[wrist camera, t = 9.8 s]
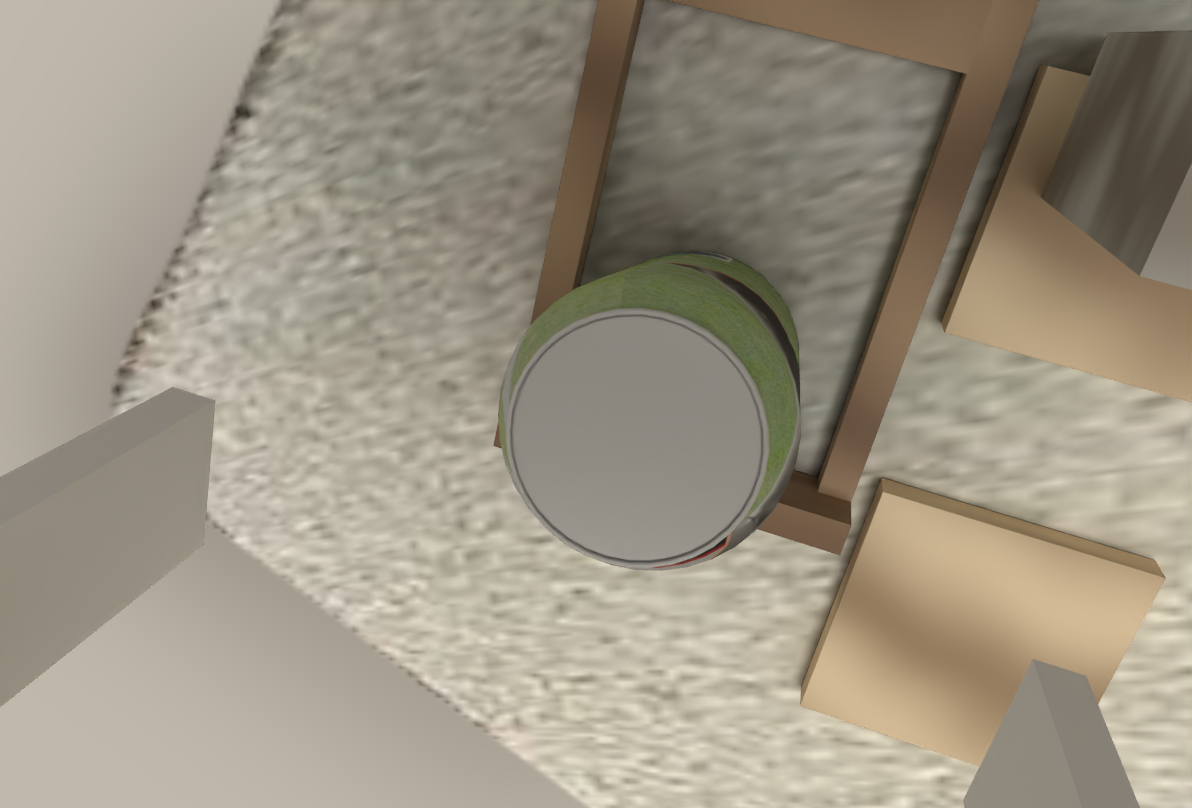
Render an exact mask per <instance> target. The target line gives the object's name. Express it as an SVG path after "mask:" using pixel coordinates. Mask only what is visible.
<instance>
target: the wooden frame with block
mask: <svg viewBox="0 0 1192 808" xmlns="http://www.w3.org/2000/svg"><path fill="white" fill-rule="evenodd" d="M668 1H672V2H676V3H680V4H684V5H689V6H693V7H697V8H701V9H705V10H709V11H713V12H717V13H721V14H725V15H729V16H733V17H737V18H741V19H746V20H750V21H754V22H758V23H762V24H766V25H770V26H774V27H778V28H782V29H786V30H790V31H794V32H798V33H802V34H807V35H811V36H815V37H819V38H823V39H827V40H831V41H835V42H839V43H843V44H847V45H851V46H855V47H859V48H863V49H868V50H872V51H876V52H880V53H884V54H888V55H892V56H896V57H900V58H904V59H908V60H912V61H916V62H920V63H924V64H929V65H933V66H937V67H941V68H945V69H949V70H953V71H957V72H961V73H962V75H961V78H960V81H959V84H958V87H957V89H956V92H955V95H954V98H953V101H952V103H951V106H950V109H949V112H948V115H947V117H946V120H945V123H944V126H943V129H942V132H941V134H940V137H939V140H938V143H937V146H936V148H935V151H934V154H933V157H932V160H931V162H930V165H929V168H928V171H927V174H926V177H925V179H924V182H923V185H922V188H921V191H920V193H919V196H918V199H917V202H916V205H915V207H914V210H913V213H912V216H911V219H910V222H909V224H908V227H907V230H906V233H905V236H904V238H903V241H902V244H901V247H900V250H899V252H898V255H897V258H896V261H895V264H894V267H893V269H892V272H891V275H890V278H889V281H888V283H887V286H886V289H885V292H884V295H883V297H882V300H881V303H880V306H879V309H878V312H877V314H876V317H875V320H874V323H873V326H872V328H871V331H870V334H869V337H868V340H867V342H866V345H865V348H864V351H863V354H862V357H861V359H860V362H859V365H858V368H857V371H856V373H855V376H854V379H853V382H852V385H851V387H850V390H849V393H848V396H847V399H846V402H845V404H844V407H843V410H842V413H841V416H840V418H839V421H838V424H837V427H836V430H835V432H834V435H833V438H832V441H831V444H830V447H829V449H828V452H827V455H826V458H825V461H824V463H823V466H822V469H821V472H820V475H819V477H818V478H817V477H813V476H810V475H807V474H804V473H800V472H797V471H794V470H793V472H792V475H791V478H790V480H789V483H788V486H787V488H786V490H785V492H784V493H783V495H782V497H781V498H780V500H779V502H778V503H777V505H776V507H775V508H774V510H773V511H772V512H771V514H770V515H769V516H768V517H767V518H766V519H765V520H764V522H763V523H762V524H761V525H760V526H759V527H758V528H757V529H759V530H762V531H765V532H768V533H771V534H775V535H778V536H781V537H784V538H787V539H790V540H794V541H797V542H800V543H803V544H806V545H809V546H813V547H816V548H819V549H822V550H825V551H828V552H832V553H835V554H838V555H840V554H841V551H842V549H843V546H844V543H845V541H846V538H847V535H848V533H849V530H850V528H851V501H852V498H853V495H854V493H855V490H856V487H857V485H858V482H859V479H860V477H861V474H862V471H863V469H864V466H865V463H866V461H867V458H868V455H869V452H870V450H871V447H872V444H873V442H874V439H875V436H876V434H877V431H878V428H879V426H880V423H881V420H882V418H883V415H884V412H885V410H886V407H887V404H888V402H889V399H890V396H891V394H892V391H893V388H894V386H895V383H896V380H897V378H898V375H899V372H900V370H901V367H902V364H903V362H904V359H905V356H906V354H907V351H908V348H909V346H910V343H911V340H912V338H913V335H914V332H915V330H916V327H917V324H918V322H919V319H920V316H921V314H922V311H923V308H924V306H925V303H926V300H927V298H928V295H929V292H930V290H931V287H932V284H933V282H934V279H935V276H936V274H937V271H938V268H939V266H940V263H941V260H942V258H943V255H944V252H945V250H946V247H947V244H948V242H949V239H950V236H951V234H952V231H953V228H954V226H955V223H956V220H957V218H958V215H959V212H960V210H961V207H962V204H963V202H964V199H965V196H966V194H967V191H968V188H969V186H970V183H971V180H972V178H973V175H974V172H975V170H976V167H977V164H978V162H979V159H980V156H981V154H982V151H983V148H984V146H985V143H986V140H987V138H988V135H989V132H990V130H991V127H992V124H993V122H994V119H995V116H996V114H997V111H998V108H999V105H1000V103H1001V100H1002V97H1003V95H1004V92H1005V89H1006V87H1007V84H1008V81H1009V79H1010V76H1011V73H1012V71H1013V68H1014V65H1015V63H1016V60H1017V57H1018V55H1019V52H1020V49H1021V47H1022V44H1023V41H1024V39H1025V36H1026V33H1027V31H1028V28H1029V25H1030V23H1031V20H1032V17H1033V15H1034V12H1035V9H1036V7H1037V4H1038V1H1039V0H668ZM643 5H644V0H598V5H597V10H596V15H595V20H594V24H593V29H592V34H591V39H590V43H589V48H588V53H587V58H586V63H585V67H584V72H583V77H582V82H581V87H580V91H579V96H578V101H577V106H576V110H575V115H574V120H573V125H572V130H571V134H570V139H569V144H568V149H567V153H566V158H565V163H564V168H563V173H562V177H561V182H560V187H559V192H558V197H557V201H556V206H555V211H554V216H553V220H552V225H551V230H550V235H549V240H548V244H547V249H546V254H545V259H544V264H543V268H542V273H541V278H540V283H539V287H538V292H537V297H536V302H535V307H534V311H533V316H532V321H531V325H532V324H533V322H534V321H535V320H536V319H537V318H538V317H539V316H540V315H541V314H542V313H543V312H545V311H546V310H547V309H548V308H549V307H550V306H551V305H552V304H553V303H554V302H556V301H557V300H559V299H560V298H562V297H563V296H565V295H566V294H568V293H570V292H571V291H573V290H574V289H576V288H578V287H580V283H581V279H582V274H583V270H584V265H585V261H586V256H587V252H588V248H589V243H590V239H591V234H592V230H593V226H594V221H595V217H596V212H597V208H598V203H599V199H600V195H601V190H602V186H603V181H604V177H605V173H606V168H607V164H608V159H609V155H610V150H611V146H612V142H613V137H614V133H615V128H616V124H617V119H618V115H619V111H620V106H621V102H622V97H623V93H624V89H625V84H626V80H627V75H628V71H629V66H630V62H631V58H632V53H633V49H634V44H635V40H636V36H637V31H638V27H639V22H640V18H641V13H642V9H643ZM494 446H496V447H499V448H502V446H501V442H500V432H499V422H498V426H497V431H496V436H495V441H494Z"/></svg>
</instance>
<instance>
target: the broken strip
mask: <svg viewBox="0 0 1192 808" xmlns="http://www.w3.org/2000/svg"><path fill="white" fill-rule="evenodd" d="M942 326H943V329H944V332H945V333H948V334H951V335H955V336H958V337H962V338H966V339H969V340H973V341H976V342H980V343H983V344H987V345H990V346H994V347H998V348H1001V349H1005V350H1008V351H1012V352H1015V353H1019V354H1022V355H1026V356H1030V357H1033V358H1037V359H1040V360H1044V361H1047V362H1051V363H1054V364H1058V365H1062V366H1065V367H1069V368H1072V369H1076V370H1079V371H1083V372H1086V373H1090V374H1094V375H1097V376H1101V377H1104V378H1108V379H1111V380H1115V381H1118V382H1122V383H1126V384H1129V385H1133V386H1136V387H1140V388H1143V389H1147V390H1150V391H1154V392H1158V393H1161V394H1165V395H1168V396H1172V397H1175V398H1179V399H1182V400H1186V401H1190V402H1192V31H1155V32H1116V33H1107V36H1106V38H1105V41H1104V43H1103V46H1102V48H1101V50H1100V53H1099V55H1098V58H1097V60H1096V63H1095V65H1094V68H1093V70H1092V73H1091V75H1090V76H1088V75H1084V74H1080V73H1076V72H1072V71H1067V70H1063V69H1059V68H1055V67H1051V66H1045V65H1040V68H1039V70H1038V73H1037V76H1036V78H1035V81H1034V83H1033V86H1032V89H1031V91H1030V94H1029V96H1028V99H1027V102H1026V104H1025V107H1024V109H1023V112H1022V115H1021V117H1020V120H1019V122H1018V125H1017V128H1016V130H1015V133H1014V135H1013V138H1012V141H1011V143H1010V146H1009V148H1008V151H1007V154H1006V156H1005V159H1004V161H1003V164H1002V167H1001V169H1000V172H999V174H998V177H997V180H996V182H995V185H994V187H993V190H992V193H991V195H990V198H989V200H988V203H987V206H986V208H985V211H984V213H983V216H982V219H981V221H980V224H979V226H978V229H977V232H976V234H975V237H974V239H973V242H972V245H971V247H970V250H969V252H968V255H967V258H966V260H965V263H964V265H963V268H962V271H961V273H960V276H959V278H958V281H957V284H956V286H955V289H954V291H953V294H952V297H951V299H950V302H949V304H948V307H947V310H946V312H945V315H944V317H943V320H942ZM1165 579H1166V578H1165V576H1164V574H1163V573H1162V571H1161V569H1160V568H1159V566H1158V564H1157V563H1156V561H1154V560H1151V559H1148V558H1144V557H1141V556H1138V555H1135V554H1131V553H1128V552H1125V551H1121V550H1118V549H1115V548H1111V547H1108V546H1105V545H1102V544H1098V543H1095V542H1092V541H1088V540H1085V539H1082V538H1079V537H1075V536H1072V535H1069V534H1065V533H1062V532H1059V531H1055V530H1052V529H1049V528H1046V527H1042V526H1039V525H1036V524H1032V523H1029V522H1026V521H1022V520H1019V519H1016V518H1013V517H1009V516H1006V515H1003V514H999V513H996V512H993V511H989V510H986V509H983V508H980V507H976V506H973V505H970V504H966V503H963V502H960V501H956V500H953V499H950V498H947V497H943V496H940V495H937V494H933V493H930V492H927V491H924V490H920V489H917V488H914V487H910V486H907V485H904V484H900V483H897V482H894V481H891V480H887V479H884V478H882V479H881V481H880V484H879V486H878V489H877V492H876V494H875V497H874V499H873V502H872V505H871V507H870V510H869V512H868V515H867V518H866V520H865V523H864V525H863V528H862V531H861V533H860V536H859V538H858V541H857V544H856V546H855V549H854V551H853V554H852V557H851V559H850V562H849V564H848V567H847V570H846V572H845V575H844V577H843V580H842V583H841V585H840V588H839V590H838V593H837V596H836V598H835V601H834V603H833V606H832V609H831V611H830V614H829V616H828V619H827V622H826V624H825V627H824V629H823V632H822V635H821V637H820V640H819V642H818V645H817V648H816V650H815V653H814V655H813V658H812V661H811V663H810V666H809V668H808V671H807V674H806V676H805V679H804V681H803V684H802V687H801V700H800V706H802V707H805V708H808V709H811V710H814V711H817V712H820V713H823V714H826V715H829V716H831V717H834V718H837V719H840V720H843V721H846V722H849V723H852V724H855V725H858V726H861V727H864V728H867V729H870V730H873V731H876V732H879V733H882V734H885V735H888V736H891V737H894V738H897V739H900V740H903V741H905V742H908V743H911V744H914V745H917V746H920V747H923V748H926V749H929V750H932V751H935V752H938V753H941V754H944V755H947V756H950V757H953V758H956V759H959V760H962V761H965V762H968V763H971V764H974V765H977V766H979V767H980V765H981V763H982V761H983V759H984V757H985V755H986V753H987V751H988V749H989V747H990V745H991V743H992V741H993V739H994V737H995V735H996V733H997V731H998V729H999V726H1000V724H1001V722H1002V720H1003V718H1004V716H1005V714H1006V712H1007V710H1008V708H1009V706H1010V704H1011V702H1012V700H1013V698H1014V696H1015V694H1016V692H1017V690H1018V688H1019V686H1020V684H1021V682H1022V680H1023V678H1024V676H1025V674H1026V671H1027V669H1028V667H1029V665H1030V663H1031V661H1032V659H1035V660H1038V661H1041V662H1044V663H1047V664H1050V665H1054V666H1057V667H1060V668H1063V669H1066V670H1069V671H1073V672H1076V673H1079V674H1082V675H1085V676H1086V677H1087V679H1088V682H1089V684H1090V687H1091V689H1092V692H1093V694H1094V696H1095V699H1096V701H1097V704H1098V703H1099V701H1100V699H1101V697H1102V695H1103V694H1104V692H1105V690H1106V688H1107V686H1108V684H1109V683H1110V681H1111V679H1112V677H1113V675H1114V673H1115V671H1116V670H1117V668H1118V666H1119V664H1120V662H1121V660H1122V658H1123V657H1124V655H1125V653H1126V651H1127V649H1128V647H1129V645H1130V644H1131V642H1132V640H1133V638H1134V636H1135V634H1136V632H1137V631H1138V629H1139V627H1140V625H1141V623H1142V621H1143V620H1144V618H1145V616H1146V614H1147V612H1148V610H1149V608H1150V607H1151V605H1152V603H1153V601H1154V599H1155V597H1156V595H1157V594H1158V592H1159V590H1160V588H1161V586H1162V584H1163V582H1164V581H1165Z"/></svg>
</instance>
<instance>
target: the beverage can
mask: <svg viewBox="0 0 1192 808" xmlns="http://www.w3.org/2000/svg"><path fill="white" fill-rule="evenodd" d="M498 418H499V432H500V442H501V446H502V450H503V455H504V459H505V463H506V466H507V468H508V471H509V473H510V475H511V478H512V480H513V482H514V485H515V487H516V489H517V490H518V492H519V493H520V495H521V497H522V498H523V500H524V501H525V503H526V504H527V506H528V508H529V509H530V510H531V511H532V513H533V514H534V515H535V516H536V517H537V518H538V519H539V521H540V522H541V523H542V524H543V525H544V526H545V527H546V528H547V530H549V531H550V532H551V533H552V534H553V535H555V536H556V537H557V538H558V539H560V540H561V541H562V542H563V543H565V544H566V545H568V546H570V547H571V548H573V549H575V550H577V551H578V552H580V553H582V554H584V555H586V556H588V557H591V558H594V559H596V560H599V561H602V562H605V563H607V564H610V565H614V566H619V567H624V568H630V569H635V570H660V571H662V570H669V569H676V568H683V567H689V566H692V565H695V564H698V563H701V562H704V561H707V560H710V559H713V558H715V557H717V556H718V555H720V554H722V553H724V552H726V551H728V550H730V549H732V548H734V547H735V546H737V545H738V544H739V543H740V542H742V541H743V540H744V539H745V538H747V537H748V536H749V535H751V534H752V533H753V532H754V531H756V529H757V528H758V527H759V526H760V525H761V524H762V523H763V522H764V520H765V519H766V518H767V517H768V516H769V515H770V514H771V512H772V511H773V510H774V508H775V507H776V505H777V503H778V502H779V500H780V498H781V497H782V495H783V493H784V492H785V490H786V488H787V486H788V483H789V480H790V478H791V475H792V472H793V470H794V467H795V464H796V460H797V454H798V449H799V443H800V437H801V433H800V374H799V344H798V338H797V333H796V328H795V325H794V322H793V320H792V317H791V315H790V312H789V309H788V308H787V306H786V305H785V303H784V301H783V300H782V298H781V296H780V295H779V293H778V292H777V291H776V290H775V289H774V288H773V286H772V285H771V284H770V283H769V282H768V281H767V280H766V279H765V278H764V277H762V276H761V275H760V274H759V273H757V272H756V271H755V270H754V269H752V268H751V267H749V266H747V265H745V264H743V263H741V262H740V261H738V260H736V259H733V258H730V257H727V256H724V255H721V254H718V253H711V252H704V251H680V252H675V253H671V254H666V255H662V256H659V257H656V258H654V259H651V260H648V261H646V262H643V263H640V264H637V265H635V266H632V267H629V268H627V269H624V270H621V271H618V272H616V273H613V274H610V275H608V276H605V277H602V278H600V279H597V280H595V281H592V282H590V283H588V284H585V285H583V286H580V287H578V288H576V289H574V290H573V291H571V292H570V293H568V294H566V295H565V296H563V297H562V298H560V299H559V300H557V301H556V302H554V303H553V304H552V305H551V306H550V307H549V308H548V309H547V310H546V311H545V312H543V313H542V314H541V315H540V316H539V317H538V318H537V319H536V320H535V321H534V322H533V324H532V325H531V326H530V328H529V329H528V330H527V332H526V333H525V335H524V336H523V337H522V339H521V340H520V341H519V343H518V345H517V347H516V349H515V351H514V354H513V356H512V358H511V360H510V362H509V364H508V366H507V370H506V373H505V377H504V380H503V384H502V387H501V394H500V403H499V413H498Z"/></svg>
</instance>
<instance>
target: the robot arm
mask: <svg viewBox="0 0 1192 808" xmlns="http://www.w3.org/2000/svg"><path fill="white" fill-rule="evenodd" d="M214 411H215V400H212V399H209V398H206V397H203V396H199V395H196V394H193V393H190V392H187V391H184V390H180V389H177V388H174V387H172V388H170V389H168V390H166V391H164V392H162V393H160V394H159V395H157V396H155V397H153V398H151V399H149V400H147V401H145V402H143V403H141V404H139V405H137V406H136V407H134V408H132V409H130V410H128V411H126V412H124V413H122V414H120V415H118V416H116V417H114V418H113V419H111V420H109V421H107V422H105V423H103V424H101V425H99V426H97V427H95V428H93V429H91V430H90V431H88V432H86V433H84V434H82V435H80V436H78V437H76V438H74V439H72V440H70V441H68V442H67V443H65V444H63V445H61V446H59V447H57V448H55V449H53V450H51V451H49V452H47V453H45V454H44V455H42V456H40V457H38V458H36V459H34V460H33V461H30V462H28V463H26V464H24V465H22V466H21V467H19V468H17V469H15V470H13V471H11V472H9V473H7V474H5V475H3V476H1V477H0V707H1V706H2V705H4V704H5V703H6V702H7V701H9V700H10V699H11V698H12V697H14V696H15V695H16V694H17V693H19V692H20V691H21V690H22V689H24V688H25V687H26V686H27V685H29V684H30V683H31V682H32V681H34V680H35V679H36V678H37V677H39V676H40V675H41V674H42V673H43V672H45V671H46V670H47V669H49V668H50V667H51V666H52V665H54V664H55V663H56V662H57V661H59V660H60V659H61V658H62V657H64V656H65V655H66V654H67V653H69V652H70V651H71V650H72V649H74V648H75V647H76V646H77V645H79V644H80V643H81V642H82V641H84V640H85V639H86V638H87V637H89V636H90V635H91V634H92V633H94V632H95V631H96V630H97V629H98V628H100V627H101V626H102V625H103V624H105V623H106V622H107V621H109V620H110V619H111V618H112V617H114V616H115V615H116V614H117V613H119V612H120V611H121V610H122V609H124V608H125V607H126V606H127V605H129V604H130V603H131V602H132V601H134V600H135V599H136V598H137V597H139V596H140V595H141V594H142V593H144V592H145V591H146V590H147V589H149V588H150V587H151V586H152V585H154V584H155V583H156V582H157V581H159V580H160V579H161V578H162V577H164V576H165V575H166V574H167V573H168V572H170V571H171V570H172V569H174V568H175V567H176V566H177V565H179V564H180V563H181V562H182V561H184V560H185V559H186V558H187V557H189V556H190V555H191V554H192V553H194V552H195V551H196V550H198V549H199V548H200V547H201V546H202V545H204V534H205V523H206V510H207V498H208V485H209V473H210V461H211V448H212V436H213V424H214ZM963 801H964V806H965V808H1140V807H1139V804H1138V802H1137V800H1136V797H1135V795H1134V792H1133V790H1132V787H1131V785H1130V782H1129V780H1128V777H1127V775H1126V773H1125V770H1124V768H1123V765H1122V763H1121V760H1120V758H1119V755H1118V753H1117V750H1116V748H1115V746H1114V743H1113V741H1112V738H1111V736H1110V733H1109V731H1108V728H1107V726H1106V723H1105V721H1104V719H1103V716H1102V714H1101V711H1100V709H1099V706H1098V704H1097V701H1096V699H1095V696H1094V694H1093V692H1092V689H1091V687H1090V684H1089V682H1088V679H1087V677H1086V676H1085V675H1082V674H1079V673H1076V672H1073V671H1069V670H1066V669H1063V668H1060V667H1057V666H1054V665H1050V664H1047V663H1044V662H1041V661H1038V660H1035V659H1032V661H1031V663H1030V665H1029V667H1028V669H1027V671H1026V674H1025V676H1024V678H1023V680H1022V682H1021V684H1020V686H1019V688H1018V690H1017V692H1016V694H1015V696H1014V698H1013V700H1012V702H1011V704H1010V706H1009V708H1008V710H1007V712H1006V714H1005V716H1004V718H1003V720H1002V722H1001V724H1000V726H999V729H998V731H997V733H996V735H995V737H994V739H993V741H992V743H991V745H990V747H989V749H988V751H987V753H986V755H985V757H984V759H983V761H982V763H981V765H980V767H979V769H978V771H977V773H976V775H975V777H974V779H973V781H972V784H971V786H970V788H969V790H968V792H967V794H966V796H965V798H964V800H963Z"/></svg>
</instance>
